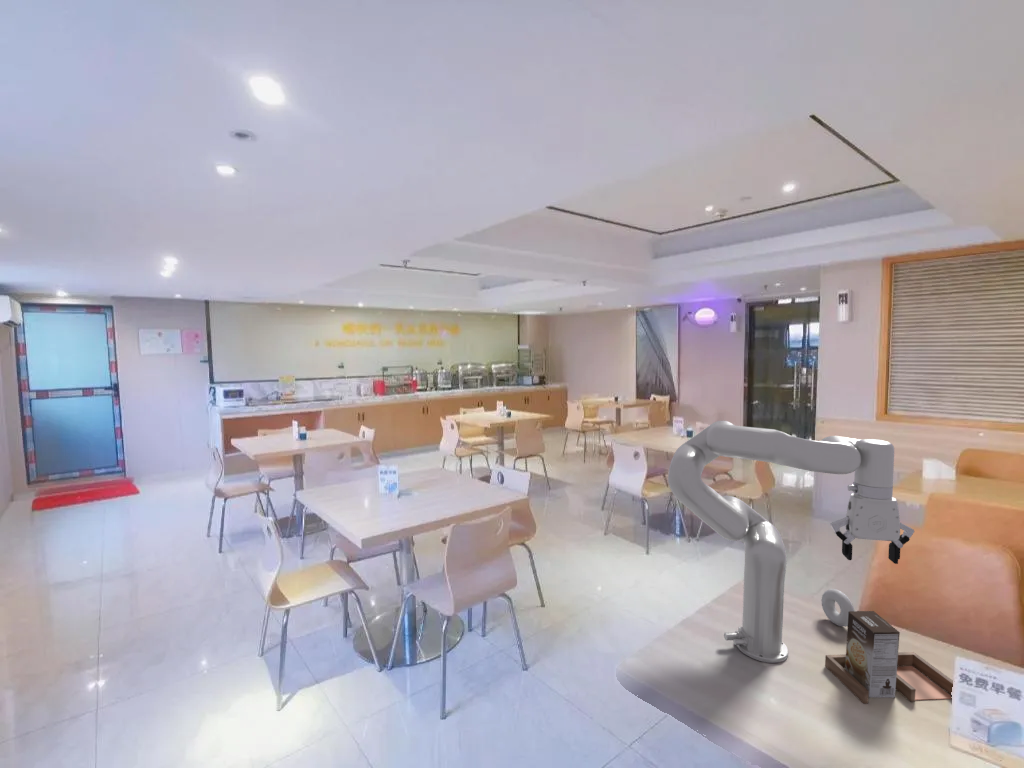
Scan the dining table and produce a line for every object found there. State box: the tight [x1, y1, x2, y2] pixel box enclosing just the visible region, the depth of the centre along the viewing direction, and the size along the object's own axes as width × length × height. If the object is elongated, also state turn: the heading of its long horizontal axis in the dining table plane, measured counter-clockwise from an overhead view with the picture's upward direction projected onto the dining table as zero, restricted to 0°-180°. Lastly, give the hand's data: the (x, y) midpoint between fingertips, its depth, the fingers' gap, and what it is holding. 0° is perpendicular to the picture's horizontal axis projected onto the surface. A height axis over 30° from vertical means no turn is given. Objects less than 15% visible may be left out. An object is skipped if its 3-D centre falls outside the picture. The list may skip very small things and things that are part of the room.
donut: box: [820, 588, 855, 627], centre depth 143 cm, size 10×4×10 cm, turn 12°
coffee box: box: [844, 610, 901, 698], centre depth 118 cm, size 9×6×16 cm
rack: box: [824, 651, 954, 705], centre depth 119 cm, size 23×13×3 cm, turn 93°
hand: (870, 559), depth 121 cm, fingers open, 9 cm apart
